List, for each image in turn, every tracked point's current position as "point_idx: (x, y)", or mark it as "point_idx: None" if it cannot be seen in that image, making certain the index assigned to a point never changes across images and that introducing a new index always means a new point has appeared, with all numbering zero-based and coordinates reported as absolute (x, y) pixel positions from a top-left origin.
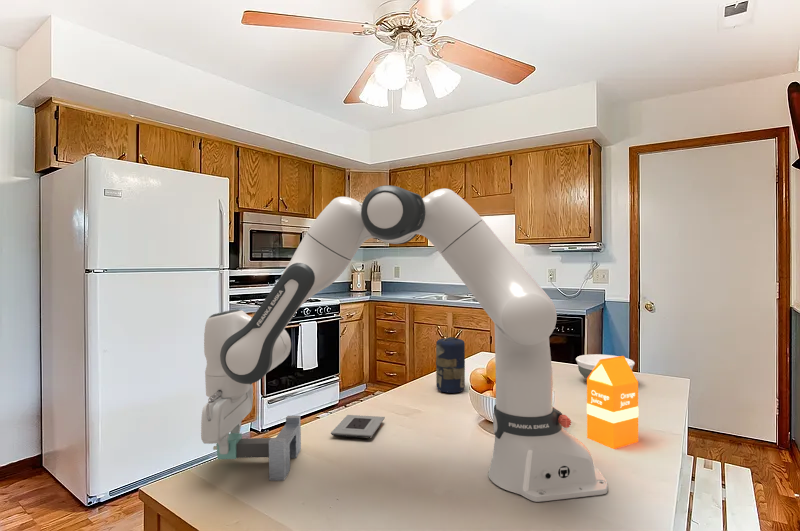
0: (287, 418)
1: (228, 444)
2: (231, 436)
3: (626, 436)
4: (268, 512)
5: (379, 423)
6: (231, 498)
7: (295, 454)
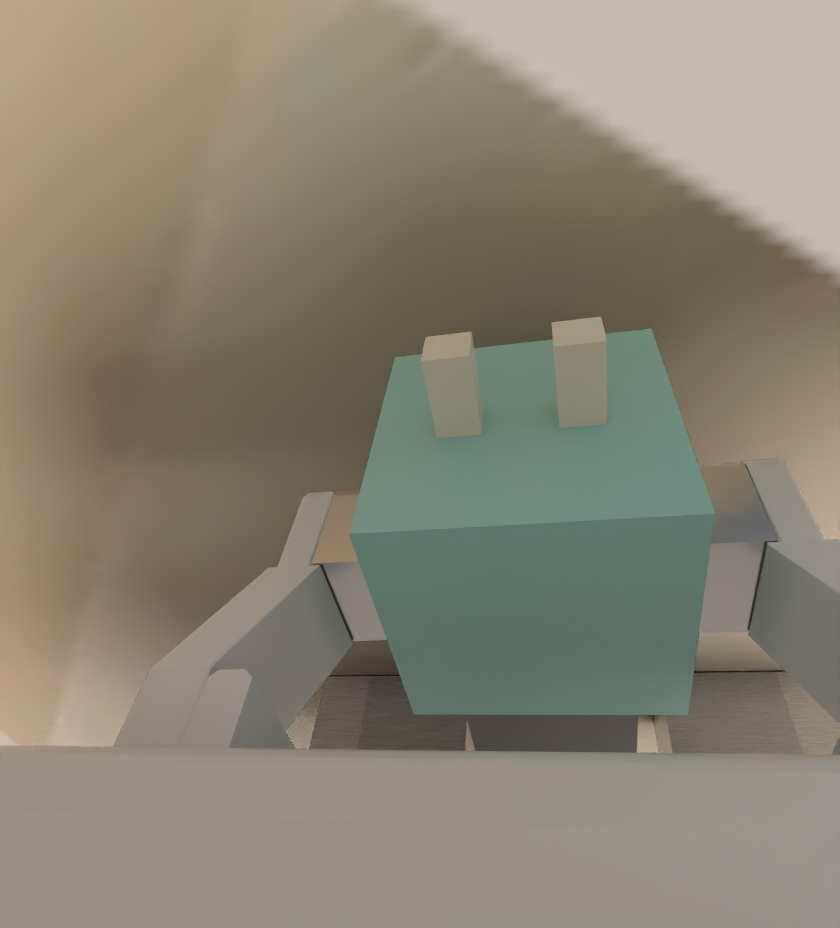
0: None
1: (340, 648)
2: (553, 648)
3: None
4: (70, 724)
5: None
6: (63, 583)
7: (658, 747)
